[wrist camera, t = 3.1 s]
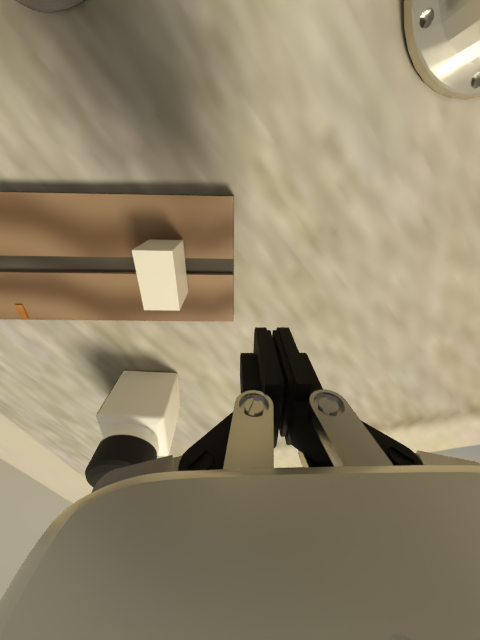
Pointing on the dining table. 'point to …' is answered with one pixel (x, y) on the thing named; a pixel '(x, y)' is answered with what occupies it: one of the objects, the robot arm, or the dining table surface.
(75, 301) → the fader board
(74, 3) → the pillar candle
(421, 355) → the dining table surface
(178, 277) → the fader tab
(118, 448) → the medicine bottle
